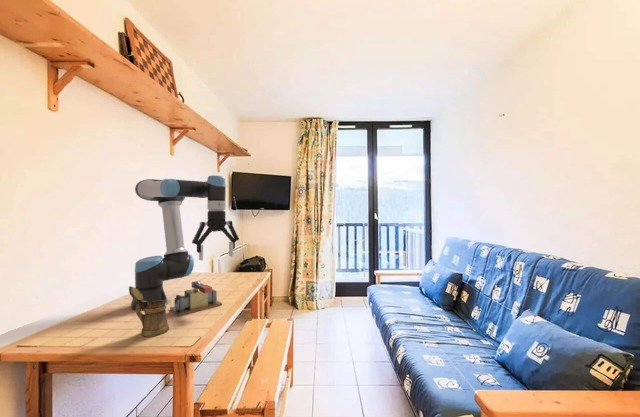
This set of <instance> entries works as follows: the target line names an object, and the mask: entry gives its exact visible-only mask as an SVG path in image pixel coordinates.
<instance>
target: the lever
mask: <svg viewBox="0 0 640 417" xmlns="http://www.w3.org/2000/svg"><path fill="white" fill-rule="evenodd" d="M191 288H192V289H193V288H197V289H199V290H200V291H201V292H203V293H205V294H206V293H210V292H212V289H213V287H212V286H211V285H208V284H203V283H202V281H200V280H198V281H197V280H196V281H192V282H191Z"/></svg>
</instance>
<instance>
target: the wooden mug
mask: <svg viewBox="0 0 640 417" xmlns="http://www.w3.org/2000/svg"><path fill="white" fill-rule="evenodd" d="M128 292H129V296H131V298H132V299H134V300H136V301H137V302H138V304H137V305H136V310H135V314H136V316H137V318H138V319H139V320H140V322H141V325H142V328H141V332H140V333H141V335H142V336H143V337H147V338H148V337H156V336H160V335H163V334H164V333H167V332H168V331H169V330H170V325H169V322H168V317H167V312H166V311H167V310H166V309H167V306H166V304H164V300H157V301H152V302H150V303H148V301H144V299H143V295H142V293H141V292H140V291H139V290H138V289H136V288H135V287H133V286H129V287H128ZM142 308H145V309H144V310H143V312H144V313H142V310H141V309H142Z"/></svg>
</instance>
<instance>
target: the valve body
mask: <svg viewBox="0 0 640 417" xmlns="http://www.w3.org/2000/svg"><path fill="white" fill-rule="evenodd" d="M217 293H218V292H217V291H216V289H213V288H212V292H210V293H206V294H205V293H203V292H201V291H200V290H199V289H197V288H192V289H188V290H184V295H180V294H176V295H175V297H174V306H170V307H169V311H171V312H172V313H173V314H174V315H176V316H177V317H181V316H185V315H189V313H190V314H192V313H193V312H194V313H197V312H201V311H204V310H209V309H213V308H216V307H220V306H223V302H221V301H219V300H218V299H217V298H218V296H217V295H218V294H217ZM194 313H193V314H194Z"/></svg>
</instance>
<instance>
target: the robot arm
mask: <svg viewBox="0 0 640 417" xmlns="http://www.w3.org/2000/svg"><path fill="white" fill-rule="evenodd" d="M226 188H227V185H226V177H225V176H224V175H223V176H222V175H208V177H207V180H206V181H202V180H188V179H187V180H185V179H176V178H175V179H174V178H165V179H155V178H153V179H152V178H149V179H148V178H145V179H143V180H140V181H139V182H137V183H136V185H135V187H134V190H135V191H134V192H135V194H136V196H137V197H139V198H140V199H142V200H145V201H148V202H157V204H158V206H159V207H160V208H161V210H162V220H163V230H164V238H165V240H164V241H165V247H166V248H165V249H166V252H165V253H164V254H163V256H162V255H153V256H152V255H151V256H147V257H144V258H141V259H138V260H137V261H136V262H135V263H134V265H135V266H134V275H135V276H134V282H135V285H134V286H135V287H134V288H136V289H138V290H139V291H140V292H141V293H142V295H143V299H144V301H148V303H150V302H152V301H157V300H164V304H165V305H166V304H167V303H168V297H167V294H166V292H165V289H164V285H163V282H166V281H171V280H175V279H182V278H185V277H188V276H190V275H191V274H192V272H193V270H194V266H195V259H194V257H193V256H192V254H189V251H188V250H187V249H186V248H185V242H184V234H183V233H184V232H183V226H182V218H181V216H182V215H181V209H180V207H181V205H182V204H183V201H184V200H185V199H186V198H197V199H198V198H199V199H206V198H207V210H208V211H207V222H205V221H200V222H199V227H198V229H197V230H196V233H195V235H194V237H193V239H192V241H191V243H192V244H193V245H194V244H195V245H196V252H197V253H198V260H199V261H203V260H204V245H203V243H204V241H205V240H206V239H207V238H208V236H209V235H210V234H211V233H214V232H222V233H223V234H224V235H225V236H226V237H227V238H228V240H229V242H228V256H229V257H231V258H232V257H234V250H235V249H236V242H237V241H239V240H240V239H239V235H238V233H237V232H236V230H235V227H234V224H233V221H232V220H227V221H226V211H225V210H226ZM206 226H207V229H206V230H205V231H204V229H205V228H206ZM225 226H227V228H228V230H229V231H230V232H229V231H228V230H227V228H226V227H225ZM203 231H204V233H203ZM202 233H203V234H202ZM137 304H138V302H137V301H136V300H134V299H133V298H132V299H131V303H130V308H131V310H133V311H134V310H135V311H136V305H137ZM144 309H145V308H142V309H141V311H144Z"/></svg>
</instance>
